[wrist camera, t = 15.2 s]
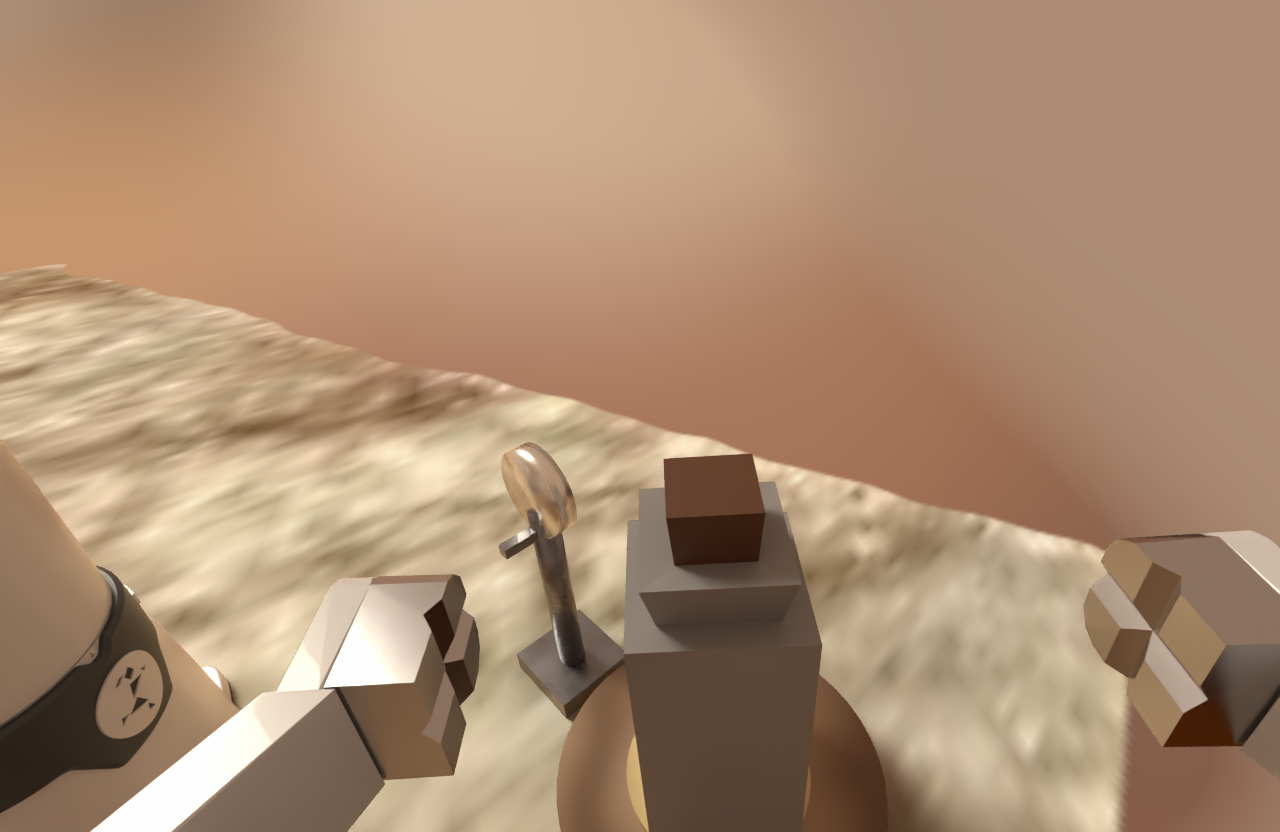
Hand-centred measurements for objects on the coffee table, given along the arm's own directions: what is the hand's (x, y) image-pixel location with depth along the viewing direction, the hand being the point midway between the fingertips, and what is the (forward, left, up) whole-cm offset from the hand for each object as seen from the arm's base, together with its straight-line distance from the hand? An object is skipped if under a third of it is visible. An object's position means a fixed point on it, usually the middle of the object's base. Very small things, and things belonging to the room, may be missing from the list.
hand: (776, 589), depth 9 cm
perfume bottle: (0, +12, -26) cm, 29 cm away
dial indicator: (-8, +21, -30) cm, 37 cm away
